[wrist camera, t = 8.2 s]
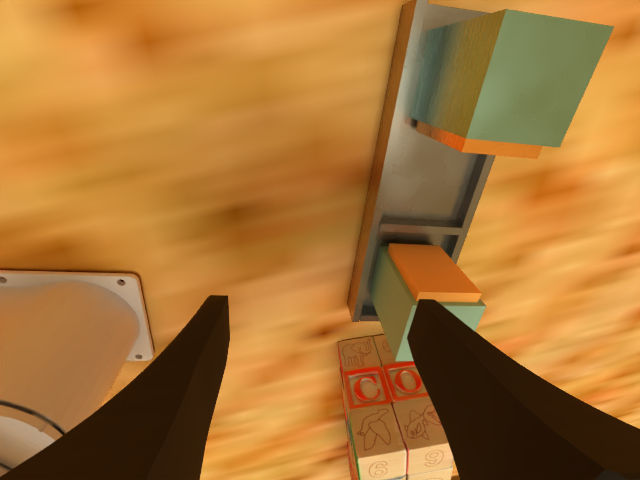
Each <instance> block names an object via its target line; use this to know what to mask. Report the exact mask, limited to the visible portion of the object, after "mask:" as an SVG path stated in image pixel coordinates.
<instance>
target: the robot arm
mask: <svg viewBox="0 0 640 480" xmlns="http://www.w3.org/2000/svg"><path fill="white" fill-rule="evenodd" d="M3 277H4V278H3ZM5 278H6V279H5ZM120 279H121V280H124V281H125V282H122V281H120ZM407 340H408V344H409V347H410V351H411V354H412V357H413V360H414V363H415V366H416V368H417V370H418V373H419V375H420V377H421V379H422V382H423V384H424V386H425V388H426V391H427V393H428V395H429V397H430V399H431V402H432V404H433V406H434V408H435V410H436V413H437V415H438V417H439V419H440V422H441V424H442V427H443V429H444V432H445V434H446V437H447V440H448V443H449V446H450V449H451V452H452V455H453V458H454V461H455V464H456V467H457V470H458V473H459V477H460V480H640V429H639V428H636V427H634V426H632V425H629V424H627V423H625V422H623V421H621V420H619V419H617V418H615V417H613V416H611V415H609V414H606V413H604V412H602V411H600V410H598V409H596V408H594V407H592V406H590V405H589V404H587V403H585V402H583V401H581V400H579V399H577V398H575V397H574V396H572V395H570V394H568V393H566V392H565V391H563V390H561V389H559V388H557V387H556V386H554V385H552V384H551V383H549V382H547V381H545V380H544V379H542V378H541V377H539V376H537V375H536V374H534V373H533V372H531V371H530V370H528V369H526V368H525V367H523V366H522V365H520V364H519V363H517V362H516V361H514V360H513V359H511V358H510V357H509V356H507V355H506V354H504V353H503V352H502V351H500V350H499V349H497V348H496V347H495V346H493V345H492V344H491V343H489V342H488V341H487V340H485V339H484V338H483V337H481V336H480V335H479V334H478V333H476V332H475V331H474V330H472V329H471V328H470V327H469V326H467V325H466V324H465V323H464V322H462V321H461V320H460V319H459V318H458V317H456V316H455V315H454V314H453V313H451V312H450V311H449V310H448V309H446V308H445V307H444V306H442V305H441V304H440V303H438V302H437V301H436V300H434V299H419V301H418V304H417V307H416V311H415V314H414V317H413V320H412V323H411V326H410V329H409V333H408V336H407ZM229 341H230V329H229V305H228V296H217V295H210V296H209V297H208V298H207V299H206V300H205V302H204V303H203V305H202V306H201V307H200V309H199V310H198V311H197V313H196V314H195V315H194V316H193V318H192V319H191V320H190V321H189V323H188V324H187V325H186V326H185V327H184V328H183V330H182V331H181V332H180V333H179V334H178V335H177V337H176V338H175V339H174V340H173V341H172V342H171V343H170V344H169V345H168V346H167V347H166V348H165V350H164V351H163V352H162V353H161V354H160V355H159V356H158V357H157V358H156V359H155V360H154V361H153V362H152V363H151V364H150V365H149V366H148V367H147V368H146V369H145V370H144V371H143V372H142V373H140V374H139V375H138V376H137V377H136V378H135V379H134V380H133V381H132V382H131V383H129V384H128V385H127V386H126V387H125V388H124V389H122V390H121V391H120V392H119V393H118V394H116V395H115V396H114V397H113V398H112V399H110V400H109V401H108V402H107V403H106V404H104V405H103V406H102V407H101V405H102V403H103V401H104V400H105V398H106V396H107V394H108V392H109V390H110V388H111V387H112V385H113V383H114V381H115V379H116V377H117V376H118V374H119V372H120V370H121V368H122V366H123V364H124V363H125V361H148V360H151V359H152V358H153V356H154V350H153V345H152V340H151V335H150V330H149V325H148V320H147V315H146V310H145V305H144V300H143V295H142V290H141V285H140V280H139V278H138V277H137V276H136V275H134V274H126V273H88V272H49V271H10V270H0V480H200V474H201V468H202V462H203V456H204V451H205V445H206V440H207V436H208V431H209V427H210V423H211V419H212V416H213V412H214V408H215V404H216V401H217V397H218V393H219V389H220V386H221V382H222V378H223V374H224V370H225V366H226V361H227V354H228V348H229ZM139 354H140V355H139ZM100 407H101V408H100Z"/></svg>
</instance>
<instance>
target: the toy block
mask: <svg viewBox="0 0 640 480" xmlns="http://www.w3.org/2000/svg"><path fill="white" fill-rule="evenodd" d="M481 294H482V293H481V292H480V291H479V290H478V289H477V287H476V286H475V285H474V284H473V283H472V282H471V281H470V280H469V278H468V277H467V276H466V275H465V274H464V273H463V272H462V271H461V269H460V268H459V267H458V266H457V265H456V264H455V263H454V261H453V260H452V259H451V258H450V257H449V256H448V255H447V254H446V252H445V251H444V250H443V249H442V248H441V247H440V246H439V245H417V244H393V243H389V246H380V249H379V253H378V258H377V262H376V267H375V271H374V276H373V280H372V285H371V289H370V297H371V299H372V302H373V304H374V307H375V310H376V312H377V315H378V317H379V320H380V323H381V325H382V328H383V330H384V333H385V336H386V338H387V341H388V343H389V346H390V349H391V351H392V354H393V356H394V359H395V361H414V360H413V357H412V354H411V351H410V347H409V344H408V340H407V336H408V333H409V329H410V326H411V323H412V320H413V317H414V314H415V311H416V307H417V304H418V301H419V299H434V300H436V301H437V302H438V303H440V304H441V305H442V306H444V307H445V308H446V309H448V310H449V311H450V312H451V313H453V314H454V315H455V316H456V317H458V318H459V319H460V320H461V321H462V322H464V323H465V324H466V325H467V326H469V327H470V328H471V329H472V330H474V331H475V330H476V328H477V326H478V323H479V321H480V319H481V317H482V315H483V312H484V310H485V308H486V305H485V304H484V303H483V302H482V301H481V300H480V296H481Z"/></svg>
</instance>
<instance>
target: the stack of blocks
mask: <svg viewBox="0 0 640 480" xmlns="http://www.w3.org/2000/svg"><path fill="white" fill-rule="evenodd" d="M338 350H339V358H340V377H341V386H342V397H343V406H344V412H345V420H346V428H347V438H348V441H347V444H348V455H349V468H350V475H351V480H451V475H452V470H453V465H452V464H453V459H454V458H453V455H452V452H451V449H450V446H449V443H448V440H447V437H446V434H445V432H444V429H443V427H442V424H441V422H440V419H439V417H438V415H437V413H436V410H435V408H434V406H433V404H432V402H431V399H430V397H429V395H428V393H427V391H426V388H425V386H424V384H423V382H422V379H421V377H420V375H419V373H418V370H417V368H416V366H415V363H414V361H395V359H394V356H393V354H392V351H391V349H390V346H389V343H388V341H387V338H386V336H385V335H378V336H374V337H371V336H370V337H364V338H358V339H351V340H345V341H340V342H338Z"/></svg>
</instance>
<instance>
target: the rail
mask: <svg viewBox="0 0 640 480" xmlns="http://www.w3.org/2000/svg"><path fill="white" fill-rule="evenodd" d="M427 2H428V0H412V1H410V2H408V3H406V4H404V5H402V10H401V16H400V21H399V27H398V32H397V37H396V43H395V48H394V54H393V59H392V65H391V70H390V75H389V81H388V86H387V92H386V97H385V102H384V108H383V113H382V119H381V124H380V129H379V135H378V140H377V146H376V151H375V157H374V162H373V167H372V173H371V178H370V184H369V189H368V194H367V200H366V205H365V211H364V216H363V222H362V227H361V232H360V238H359V243H358V249H357V254H356V259H355V265H354V270H353V276H352V281H351V286H350V292H349V297H348V303H347V304H348V308H349V312H350V315H351V319H352V322H359V319H360V321H380V320H379V317H378V315H377V312H376V310H375V307H374V304H373V302H372V299H371V297H370V289H371V285H372V280H373V276H374V271H375V267H376V262H377V258H378V253H379V249H380V246H389V243H393V244H417V245H439V246H440V247H441V248H442V249H443V250H444V251H445V252H446V254H447V255H448V256H449V257H450V258H451V259H452V260H453V261H454V263H455V264H456V263H457V260H458V257H459V255H460V252H461V249H462V246H463V244H464V241H465V238H466V235H467V233H468V230H469V227H470V224H471V222H472V219H473V216H474V213H475V211H476V208H477V205H478V202H479V200H480V197H481V194H482V191H483V189H484V186H485V183H486V181H487V178H488V175H489V172H490V170H491V167H492V164H493V161H494V159H495V156H496V155H499V156H511V157H522V158H533V159H537V158H538V156H539V154H540V151H541V149H542V146H549V147H560V145H561V143H562V141H563V138H564V136H565V134H566V132H567V130H568V127H569V125H570V123H571V121H572V119H573V116H574V114H575V112H576V110H577V108H578V105H579V103H580V101H581V99H582V97H583V94H584V92H585V90H586V88H587V86H588V83H589V81H590V79H591V77H592V75H593V72H594V70H595V68H596V66H597V63H598V61H599V59H600V57H601V55H602V52H603V50H604V48H605V46H606V44H607V41H608V39H609V37H610V35H611V33H612V30H613V28H614V26H608V25H601V24H595V23H589V22H583V21H577V20H570V19H564V18H558V17H552V16H546V15H539V14H533V13H527V12H521V11H514V10H508V9H505V10H502V11H498V12H494V13H485V12H479V11H472V10H466V9H460V8H453V7H447V6H441V5H434V4H428V3H427Z"/></svg>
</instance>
